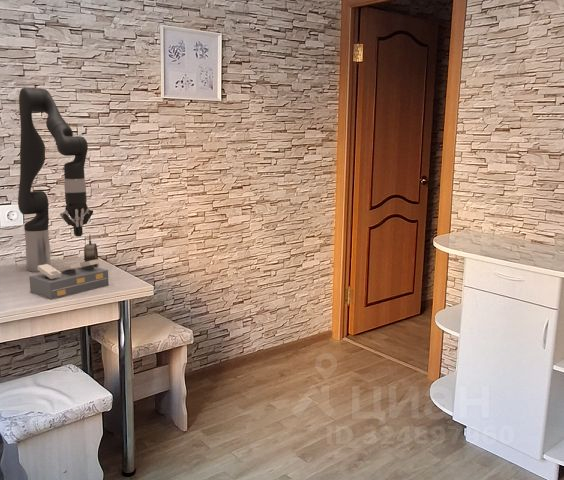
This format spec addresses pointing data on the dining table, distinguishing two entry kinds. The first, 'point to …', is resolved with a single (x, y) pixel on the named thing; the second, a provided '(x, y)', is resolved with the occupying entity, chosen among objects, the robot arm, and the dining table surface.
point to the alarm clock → (90, 252)
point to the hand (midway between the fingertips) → (78, 236)
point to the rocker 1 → (49, 271)
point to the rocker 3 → (89, 263)
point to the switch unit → (69, 282)
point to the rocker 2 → (69, 267)
